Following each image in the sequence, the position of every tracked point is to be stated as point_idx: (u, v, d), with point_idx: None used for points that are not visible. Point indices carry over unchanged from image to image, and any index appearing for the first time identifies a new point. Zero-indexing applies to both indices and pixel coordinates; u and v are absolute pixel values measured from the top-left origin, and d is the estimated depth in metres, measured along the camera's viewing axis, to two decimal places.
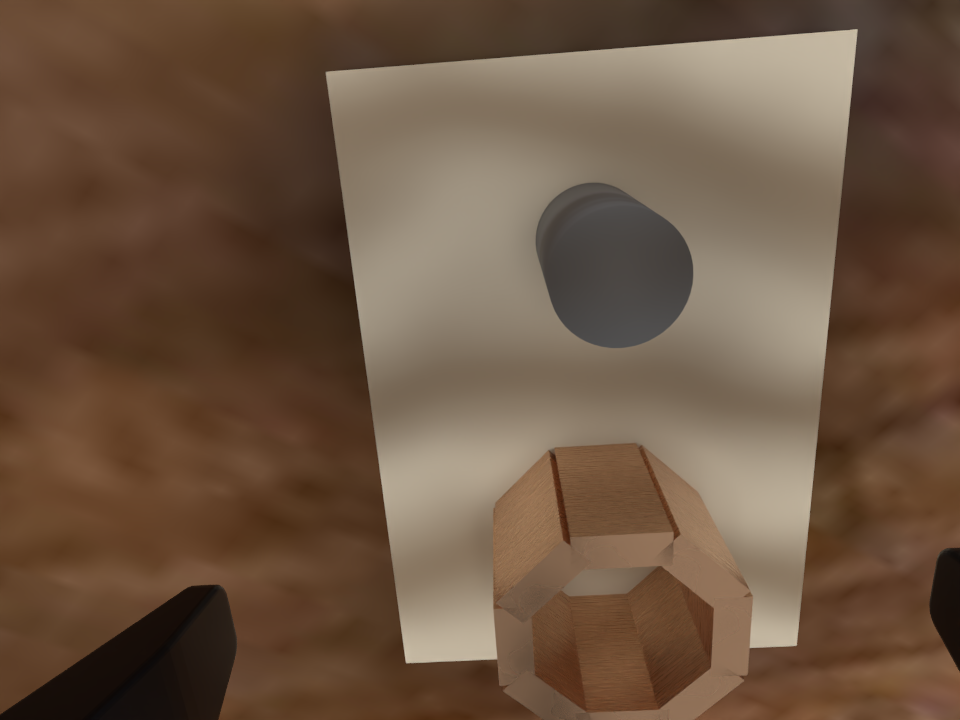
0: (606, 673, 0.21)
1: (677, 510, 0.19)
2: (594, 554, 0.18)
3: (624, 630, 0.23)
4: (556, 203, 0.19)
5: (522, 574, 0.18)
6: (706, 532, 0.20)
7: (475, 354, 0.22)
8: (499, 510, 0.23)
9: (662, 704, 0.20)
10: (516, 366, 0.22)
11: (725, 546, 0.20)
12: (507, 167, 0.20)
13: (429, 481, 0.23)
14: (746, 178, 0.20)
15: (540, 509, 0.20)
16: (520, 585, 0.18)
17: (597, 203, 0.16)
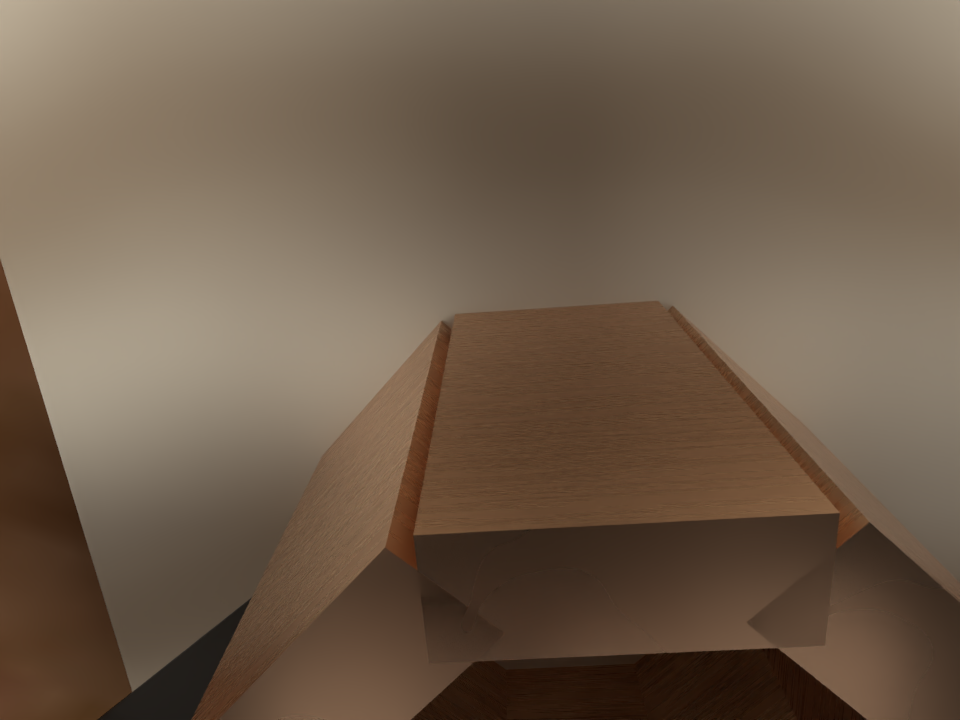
0: None
1: (807, 447, 0.06)
2: (515, 603, 0.05)
3: None
4: None
5: (253, 674, 0.05)
6: (891, 520, 0.06)
7: (231, 48, 0.08)
8: (318, 470, 0.09)
9: None
10: (342, 83, 0.08)
11: (940, 564, 0.07)
12: None
13: (159, 401, 0.10)
14: None
15: (377, 453, 0.07)
16: (242, 717, 0.05)
17: None
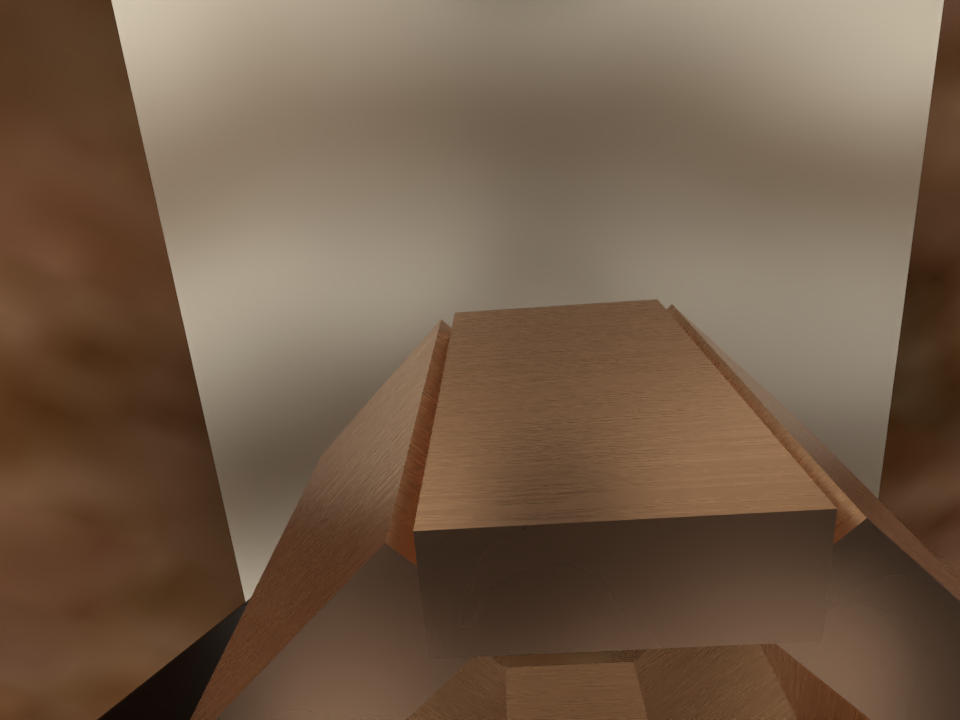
0: None
1: (806, 444, 0.06)
2: (514, 599, 0.05)
3: None
4: None
5: (254, 670, 0.05)
6: (889, 518, 0.06)
7: (322, 79, 0.12)
8: (318, 469, 0.09)
9: None
10: (394, 101, 0.12)
11: (938, 561, 0.07)
12: None
13: (262, 319, 0.14)
14: None
15: (377, 451, 0.07)
16: (243, 712, 0.05)
17: None
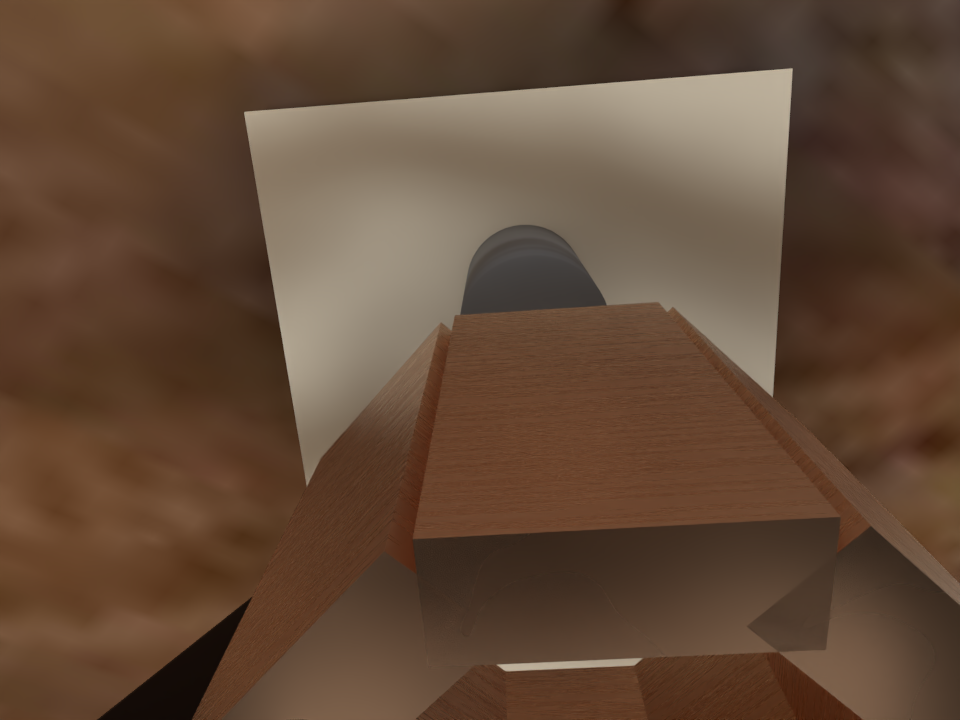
0: None
1: (808, 449, 0.06)
2: (514, 607, 0.05)
3: None
4: (483, 247, 0.18)
5: (252, 678, 0.05)
6: (892, 523, 0.06)
7: None
8: (318, 472, 0.09)
9: None
10: None
11: (941, 567, 0.07)
12: (435, 209, 0.19)
13: None
14: (683, 220, 0.19)
15: (377, 456, 0.07)
16: None
17: (512, 251, 0.15)
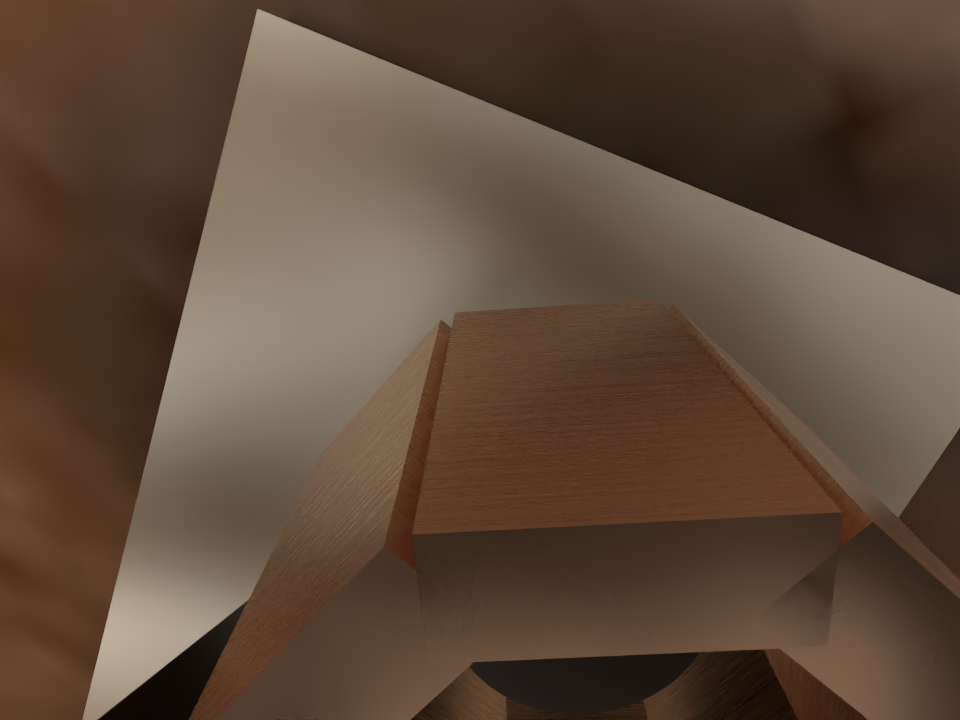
0: None
1: (809, 446, 0.06)
2: (514, 603, 0.04)
3: None
4: None
5: (250, 674, 0.05)
6: (893, 520, 0.06)
7: None
8: (317, 469, 0.09)
9: None
10: None
11: (943, 564, 0.07)
12: (477, 283, 0.12)
13: (178, 646, 0.15)
14: None
15: (377, 452, 0.07)
16: (240, 717, 0.05)
17: None
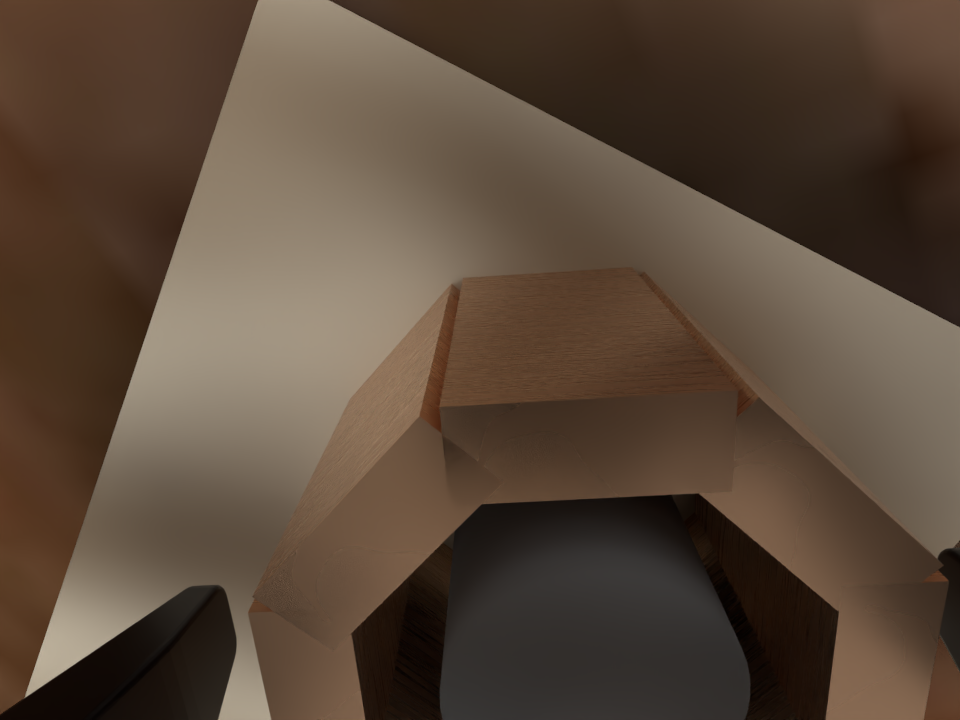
0: None
1: (734, 365, 0.08)
2: (510, 459, 0.06)
3: None
4: None
5: (320, 518, 0.07)
6: (802, 426, 0.08)
7: None
8: (349, 407, 0.11)
9: None
10: None
11: (844, 464, 0.08)
12: None
13: None
14: None
15: (404, 376, 0.08)
16: (312, 548, 0.07)
17: (623, 518, 0.08)
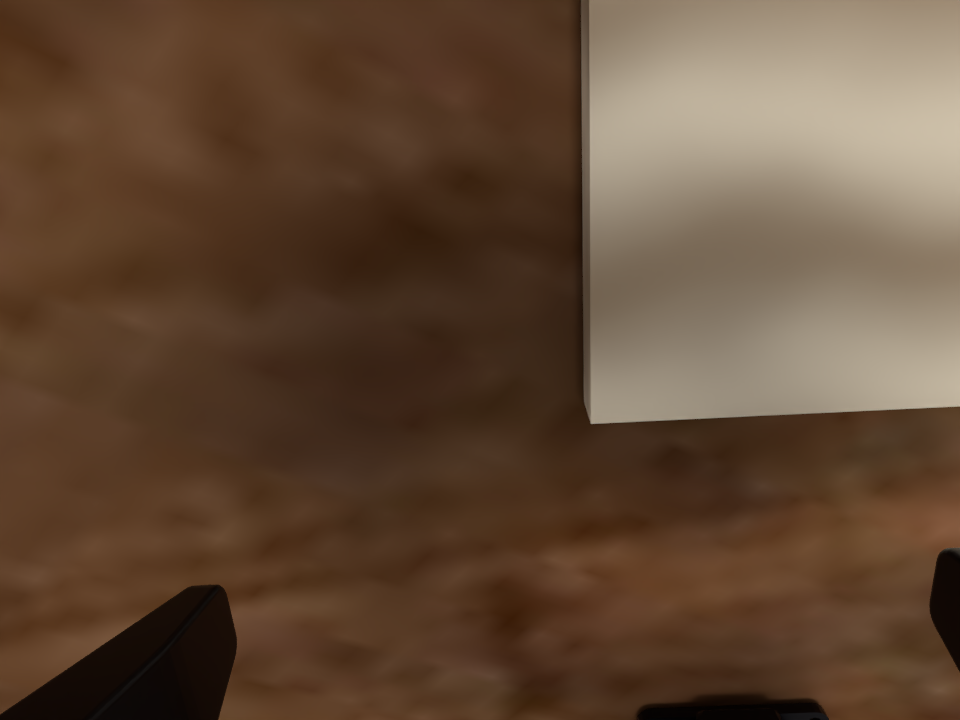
0: None
1: None
2: None
3: None
4: None
5: None
6: None
7: None
8: None
9: None
10: None
11: None
12: None
13: (656, 136, 0.17)
14: None
15: None
16: None
17: None
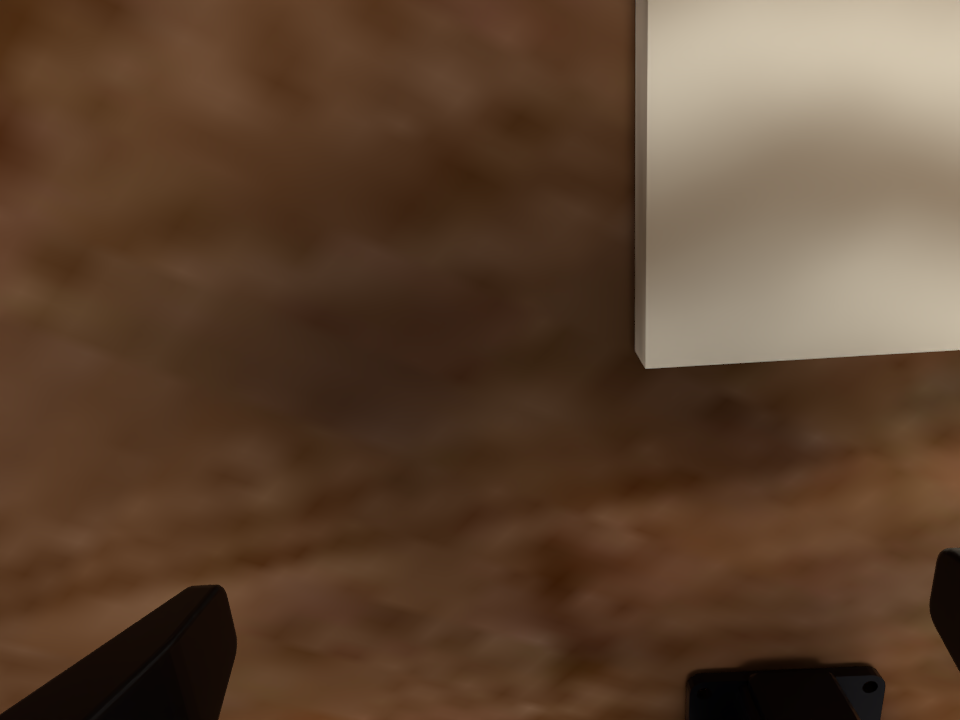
0: None
1: None
2: None
3: None
4: None
5: None
6: None
7: None
8: None
9: None
10: None
11: None
12: None
13: (715, 67, 0.16)
14: None
15: None
16: None
17: None
